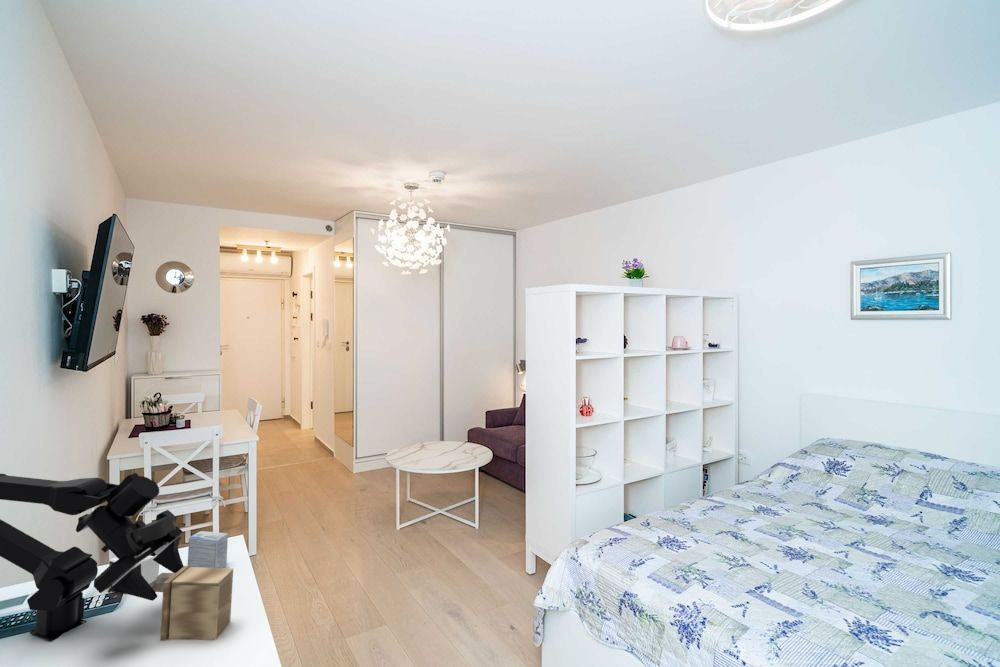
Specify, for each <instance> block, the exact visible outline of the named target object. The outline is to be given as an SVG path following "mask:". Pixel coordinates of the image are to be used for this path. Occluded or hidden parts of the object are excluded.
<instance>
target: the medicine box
mask: <svg viewBox="0 0 1000 667" xmlns="http://www.w3.org/2000/svg"><path fill="white" fill-rule="evenodd" d="M228 536H229V534H228V533H225V532H216V531H207V530H205V531H204V530H200V531H198V532H196V533H195V534H193V535H191V536H190V537H188V548H187V549H188V550H187V551H188V552H187V566H190V567H204V568H225V567H226V566H227V564H228V560H227V559H228V540H229V538H228ZM225 565H226V566H225ZM224 566H225V567H224Z"/></svg>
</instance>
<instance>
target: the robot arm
mask: <svg viewBox="0 0 1000 667" xmlns="http://www.w3.org/2000/svg"><path fill="white" fill-rule="evenodd" d="M159 494H160V487H159V485H158V484H157V482H156V481H154V480H153V479H152V480H151V478H149V477H146V476H142V475H139V474H138V473H137V472H132V473H130V474H128V475H127V476H126V477H125V478H124V479H123V480H122V481H121V482H120V483H119V484H116V483H115V484H114V483H111V482H110V483H109V482H106V480H104V479H103V478H100V477H87V478H86V477H85V478H77V479H76V478H75V479H69V480H53V479H52V480H51V479H42V478H35V477H26V476H25V477H24V476H17V475H16V476H15V475H7V474H6V473H0V500H1V501H11V502H20V503H21V502H22V503H31V504H39V505H45V506H48V507H49V508H51V509H52V510H53V511H54V512H58V513H61V514H64V515H69V516H77V515H80V514H82V513H84V512H86V511H88V510H91V509H94V508H95V509H94V510H92V511H91V512H90V513H85V514H84V515H82V516H79V517H78V523H77V525H76V526H75V527H76V529H75V532H77V533H80V532H82V531H83V530H85V529H88V528H89V529H90V531H92V532H93V533H94V535H95V536H97V538H98V539H99V540H100V541H101V542H102V543H103V544H104V545H103V547H101V551H102V552H103V553H107V552H108V551H110V552H112V553H113V555H114V557H117V558H118V559H119V560H117V561H116V562H114V563H113V564H111V565H110V566H108V567H107V568H105V569H104V570H103V571H102V572H101V573H100V574H98V572H99V571H98V570H99V569H98V562H97V561H96V559H94V558H92V557H93V554H92V553H87V552H85V551H83V550H82V549H81V548H79V547H77V546H72V547H70V548H68V549H67V550H64V551H58V550H56V549H54V548H52V547H50V546H49V545H47V544H45V543H43V542H41V541H39V540H38V539H37V538H34V537H32V536H31V535H29V534H27V533H25V532H24V531H22V530H21V529H18V528H17V527H15V526H13V525H12V524H10V523H8V522H6V521H4V520H2V519H1V518H0V557H1V558H2V559H4V560H6V561H7V562H10V563H11V564H13V565H15V566H17V567H18V568H20V569H21V570H22V569H23V571H26V572H27V573H29V574H30V575H32V577H33V581H34V584H35V587H36V589H37V591H36V592H34V593H33V594H32V595H31V596H29V597H28V599H27V606H28V607H29V610H30V611H36V618H35V628H34V629H31V630H30V631H29V635H31V636H34V637H36V638H40V639H42V640H45V641H47V642H53V641H55V640H57V639H59V638H60V637H62V635H64V634H65V633H68V632H70V631H72V630H73V629H76V628H78V627H79V626H82V625H84V624H85V623H87V622H88V621H87V620H86V619H83V618H84V616H85V600H86V599H85V598H84V597H83V596H84V593H83V592H84V591H85V590H88V589H89V588H90V585H91V583H92V582H93V588H94V589H95V590H97V592H98V593H99V594H102V593H104V592H105V591H106V590H107V591H106V592H107V593H108V594H110V593H112V592H114V593H117V594H124V595H129V596H133V597H137V598H141V599H144V600H148V601H154V600H156V598H158V594H157V592H155V591H154V590H153V588H152V587H151V586H150V585H149V583H148V582H147V581H146V580H145V579H144V577H143V576H142V575H141V564H139V565H138V566H137V567H134V566H135V565H136V564H137V563H139V562H140V561H142V560H143V559H145V558H146V557H148V556H149V555H150V556H156V555H157V556H156V557H155V558H154V559H153V560H154V561H155V562H157V563H158V564H159V566H162V567H163V568H165V569H167V570H168V571H170V573H176V572H178V571H179V570H180V569H181V568H183V567H184V566H185V565H184V564H183V561H182V558H181V555H180V550H179V545H180V541H181V540H182V535H183V533H184V532H183V530H182V529H181V528H180V527H179V526H176V525H175V523H176V520H177V519H178V517H177V516H176V515H174V513H172V512H171V511H170V510H169V509H166V510H164V511H161V512H159V513H158V514H156V517H155V519H154V520H153V521H151V522H150V523H149V522H148V523H145V522H144V520H137V521H136V522H135V521H134V520H133V519H132V518H131V517H134V516H136V515H137V514H138V513H139V512H141V511H142V510H143V509H144V508H145V507H146V506H148V504H150V503H151V502H152V501H153V500H154V499H155V498H156V497H158V495H159ZM104 503H107V504H106V505H104ZM101 504H103V505H101ZM99 505H100V506H99ZM97 575H98V576H97ZM111 586H113V587H111ZM109 587H111V588H110V589H108V588H109Z"/></svg>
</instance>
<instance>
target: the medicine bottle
mask: <svg viewBox="0 0 1000 667" xmlns="http://www.w3.org/2000/svg"><path fill="white" fill-rule="evenodd" d="M156 556H157V555H156ZM156 556H150V555H149V556H148V557H146V558H145V559H143V560H142V561H140V562H139V563H137V564H136V565H135V566H134V567H137V566H138V565H139V564H141V575H142V576H143V577H144V579H145V580H146V581H147V582H148V583H149V584H150V583H152V582H153V581H154V580H156V578H157V576H159V575H160V573H159V571H160V564H158V563H157V562H155V561H154V560H153V559H154V558H155V557H156ZM117 560H119V559H118V558H117V557H116V556H114V557H112V558H110V560H109V564H108V565H109V566H110V565H111V564H113V563H114V562H116V561H117ZM109 566H108V567H109ZM111 587H113V586H111ZM111 587H109V588H108V589H107V590H109V589H110V588H111Z"/></svg>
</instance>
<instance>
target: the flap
mask: <svg viewBox="0 0 1000 667" xmlns="http://www.w3.org/2000/svg"><path fill="white" fill-rule="evenodd" d="M183 566H184V567H183V568H181V569H180V570H179V571H178V572H176V573H173V572H161V573H159V576H157V578H156V580H154V581H153V582H152V583H150V584H149V585H150V586H151V587H152V588H153V590H154V591H155V593H162V601H161V602H162V604H161V619H160V620H161V622H160V639H159V640H160V641H167V639H169V625H170V607H171V589H172V581H173V580H175V579H176V578H177V577H178V576H179V575H181V574H182V573H183V572H184V571H186V570H187V569H188V568H189V567H190V566H188V565H183Z"/></svg>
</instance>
